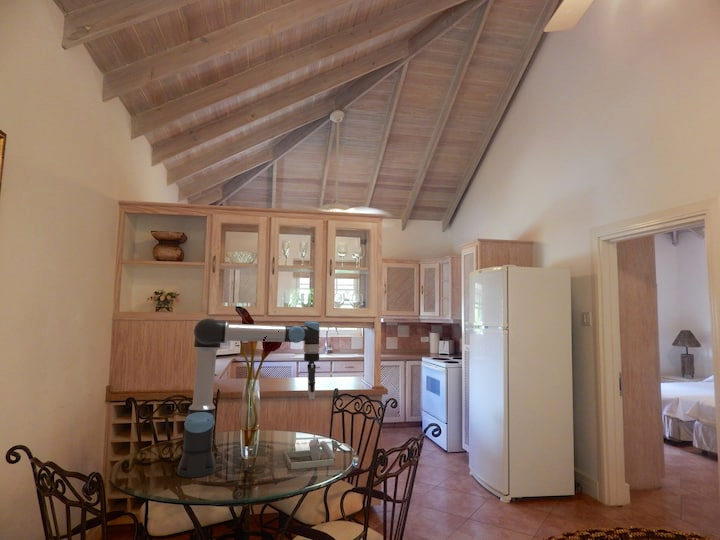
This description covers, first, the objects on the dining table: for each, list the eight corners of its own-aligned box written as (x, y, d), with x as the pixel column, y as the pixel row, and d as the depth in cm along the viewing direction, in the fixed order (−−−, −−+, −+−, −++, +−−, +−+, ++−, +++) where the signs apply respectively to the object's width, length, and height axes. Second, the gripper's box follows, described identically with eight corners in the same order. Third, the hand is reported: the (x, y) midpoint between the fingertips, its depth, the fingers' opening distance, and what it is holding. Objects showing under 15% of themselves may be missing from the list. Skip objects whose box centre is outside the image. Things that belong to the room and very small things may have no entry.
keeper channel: (289, 469, 189) (289, 462, 190) (283, 457, 206) (283, 450, 206) (333, 465, 195) (334, 458, 196) (324, 454, 212) (324, 447, 212)
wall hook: (335, 461, 200) (330, 439, 201) (313, 466, 200) (308, 444, 201) (336, 455, 208) (331, 434, 209) (315, 460, 208) (310, 439, 209)
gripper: (320, 354, 206) (320, 400, 204) (317, 351, 231) (317, 392, 228) (304, 354, 205) (304, 401, 203) (303, 351, 230) (302, 392, 227)
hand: (311, 396), depth 216 cm, fingers open, 13 cm apart
